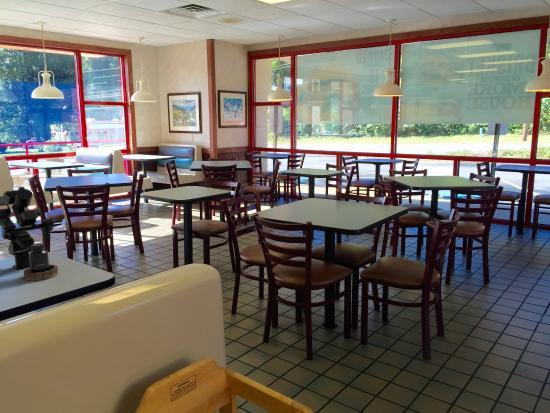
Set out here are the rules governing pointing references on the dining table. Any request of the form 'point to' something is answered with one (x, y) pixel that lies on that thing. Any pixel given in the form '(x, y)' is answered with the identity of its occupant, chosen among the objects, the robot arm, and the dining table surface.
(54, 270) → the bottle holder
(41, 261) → the supplement bottle
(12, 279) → the dining table surface
